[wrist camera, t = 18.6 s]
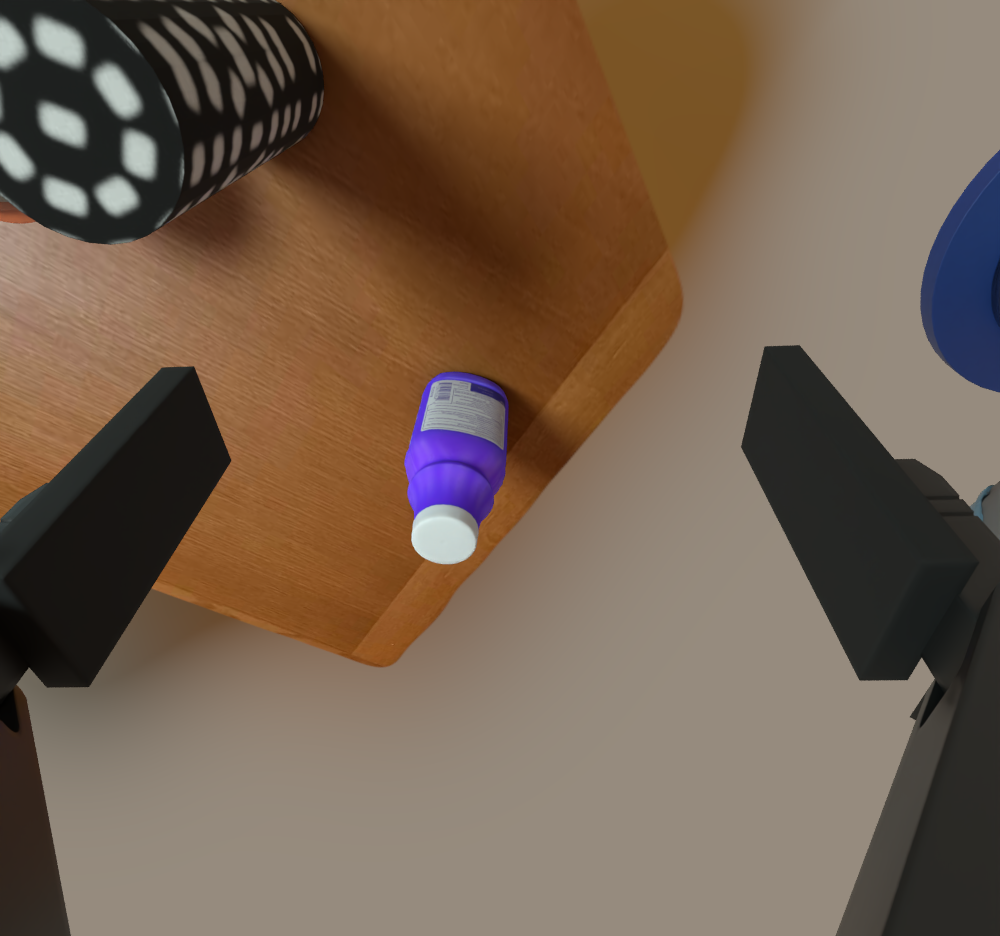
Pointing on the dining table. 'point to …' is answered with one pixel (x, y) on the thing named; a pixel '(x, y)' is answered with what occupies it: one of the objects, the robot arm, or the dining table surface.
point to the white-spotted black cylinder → (145, 106)
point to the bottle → (455, 463)
